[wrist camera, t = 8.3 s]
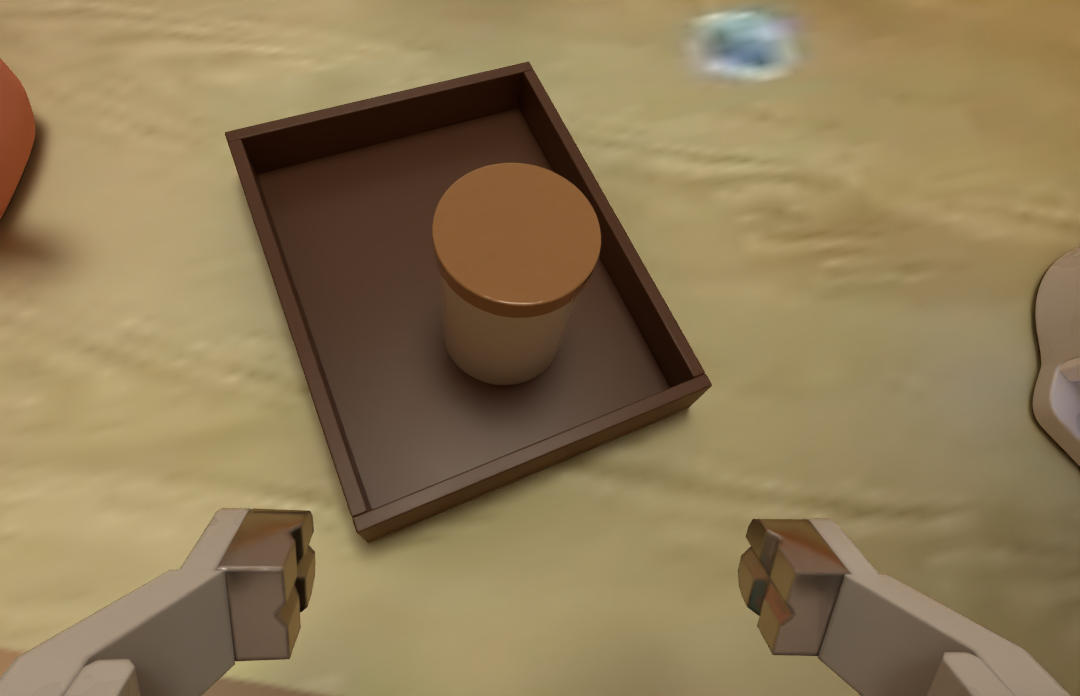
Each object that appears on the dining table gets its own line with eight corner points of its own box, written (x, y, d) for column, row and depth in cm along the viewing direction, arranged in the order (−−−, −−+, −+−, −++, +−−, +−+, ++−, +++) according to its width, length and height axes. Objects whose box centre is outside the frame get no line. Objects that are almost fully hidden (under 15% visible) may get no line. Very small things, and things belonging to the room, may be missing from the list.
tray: (689, 407, 29) (713, 385, 27) (367, 543, 25) (356, 533, 23) (523, 104, 36) (529, 60, 33) (244, 174, 31) (223, 131, 29)
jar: (587, 362, 29) (630, 273, 22) (466, 408, 28) (470, 329, 20) (535, 258, 31) (559, 144, 24) (419, 295, 29) (407, 186, 22)
